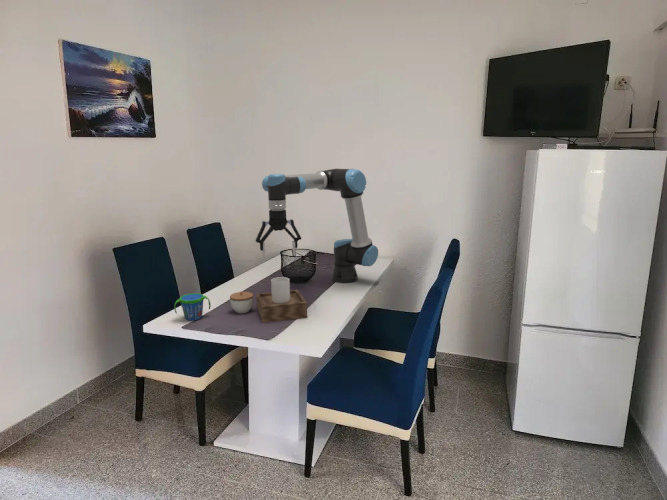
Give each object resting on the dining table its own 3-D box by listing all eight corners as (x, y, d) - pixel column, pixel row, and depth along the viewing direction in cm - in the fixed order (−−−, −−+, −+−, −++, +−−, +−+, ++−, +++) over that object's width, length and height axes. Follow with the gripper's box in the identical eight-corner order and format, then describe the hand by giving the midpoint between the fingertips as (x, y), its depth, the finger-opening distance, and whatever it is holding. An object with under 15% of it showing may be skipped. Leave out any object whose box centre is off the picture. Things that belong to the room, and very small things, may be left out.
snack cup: (174, 324, 210) (172, 301, 208) (176, 316, 220) (174, 294, 218) (211, 320, 214) (209, 298, 212) (211, 312, 224) (209, 291, 222)
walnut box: (298, 303, 235) (297, 289, 233) (307, 317, 216) (306, 302, 214) (256, 308, 229) (256, 293, 228) (262, 322, 210) (261, 307, 209)
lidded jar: (228, 309, 228) (227, 290, 226) (250, 305, 232) (249, 287, 230) (233, 316, 219) (232, 296, 217) (256, 312, 223) (255, 293, 221)
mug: (280, 295, 228) (280, 274, 226) (296, 297, 226) (296, 275, 223) (268, 303, 218) (267, 281, 215) (285, 305, 215) (284, 282, 212)
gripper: (249, 212, 205) (252, 260, 210) (307, 209, 212) (308, 256, 217) (248, 209, 212) (250, 256, 217) (303, 207, 219) (304, 252, 224)
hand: (279, 256), depth 217 cm, fingers open, 13 cm apart
